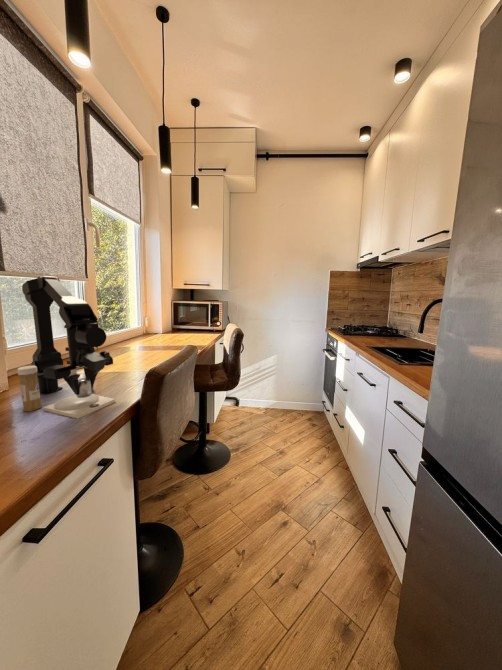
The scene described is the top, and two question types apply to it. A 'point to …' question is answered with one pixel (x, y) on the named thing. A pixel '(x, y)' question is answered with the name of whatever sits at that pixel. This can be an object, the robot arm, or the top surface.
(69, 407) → the scale
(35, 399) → the sprinkles bottle
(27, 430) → the top surface
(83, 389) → the cylinder
